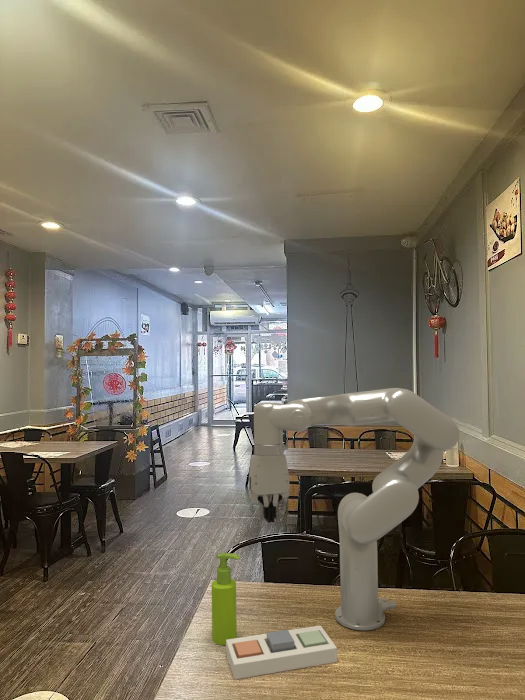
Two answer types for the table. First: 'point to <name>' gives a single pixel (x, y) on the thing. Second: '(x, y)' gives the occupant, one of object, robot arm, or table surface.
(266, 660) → the button panel
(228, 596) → the soap dispenser
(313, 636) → the sage button
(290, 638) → the slate button
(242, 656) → the terracotta button
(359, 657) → the table surface
